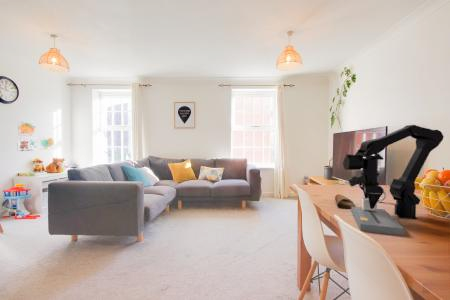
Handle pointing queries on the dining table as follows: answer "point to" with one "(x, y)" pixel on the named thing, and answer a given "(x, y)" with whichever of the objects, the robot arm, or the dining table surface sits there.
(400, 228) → the fader console
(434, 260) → the dining table surface
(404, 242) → the dining table surface
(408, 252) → the dining table surface
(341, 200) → the sunglasses case
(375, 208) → the fader knob
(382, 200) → the ring
